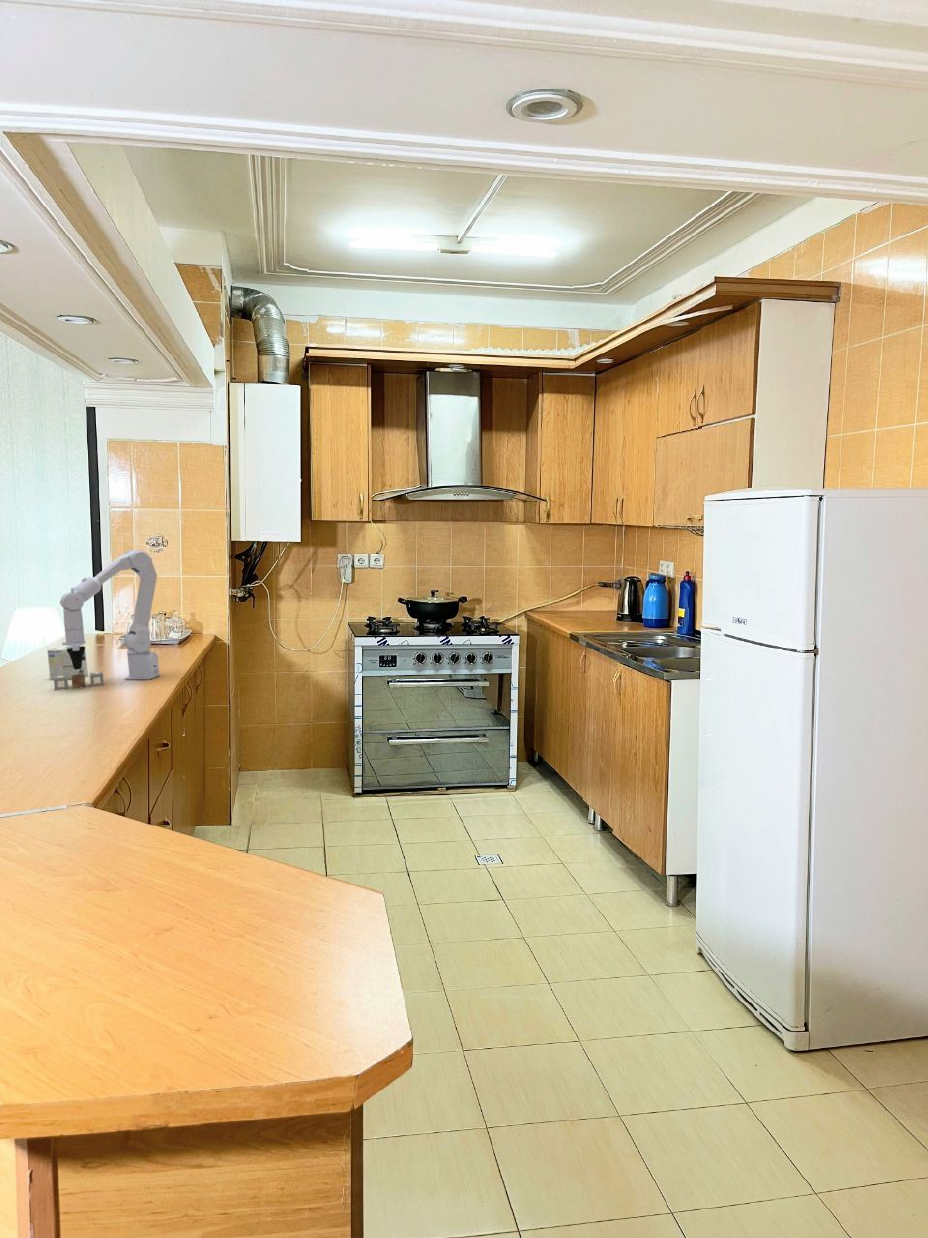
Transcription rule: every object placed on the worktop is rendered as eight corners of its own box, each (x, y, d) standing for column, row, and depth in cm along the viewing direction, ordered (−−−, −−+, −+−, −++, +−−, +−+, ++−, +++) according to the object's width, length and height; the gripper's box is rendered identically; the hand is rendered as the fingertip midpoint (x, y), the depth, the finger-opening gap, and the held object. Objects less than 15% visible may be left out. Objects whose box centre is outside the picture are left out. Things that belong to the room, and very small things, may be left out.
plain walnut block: (85, 685, 298) (84, 673, 298) (85, 687, 295) (84, 675, 294) (72, 686, 297) (71, 675, 296) (72, 688, 293) (71, 677, 293)
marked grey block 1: (68, 687, 296) (66, 674, 296) (68, 689, 293) (67, 677, 292) (55, 688, 295) (53, 676, 294) (54, 690, 291) (53, 678, 290)
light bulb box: (88, 675, 315) (85, 645, 314) (78, 679, 308) (75, 649, 307) (60, 676, 316) (57, 646, 315) (49, 679, 310) (46, 649, 308)
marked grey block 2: (103, 683, 301) (102, 671, 300) (104, 685, 297) (102, 673, 296) (90, 684, 299) (89, 672, 298) (91, 687, 295) (89, 674, 295)
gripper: (61, 627, 298) (64, 666, 300) (60, 632, 285) (64, 674, 287) (83, 625, 301) (87, 664, 303) (84, 630, 288) (88, 671, 290)
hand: (77, 669), depth 295 cm, fingers closed
